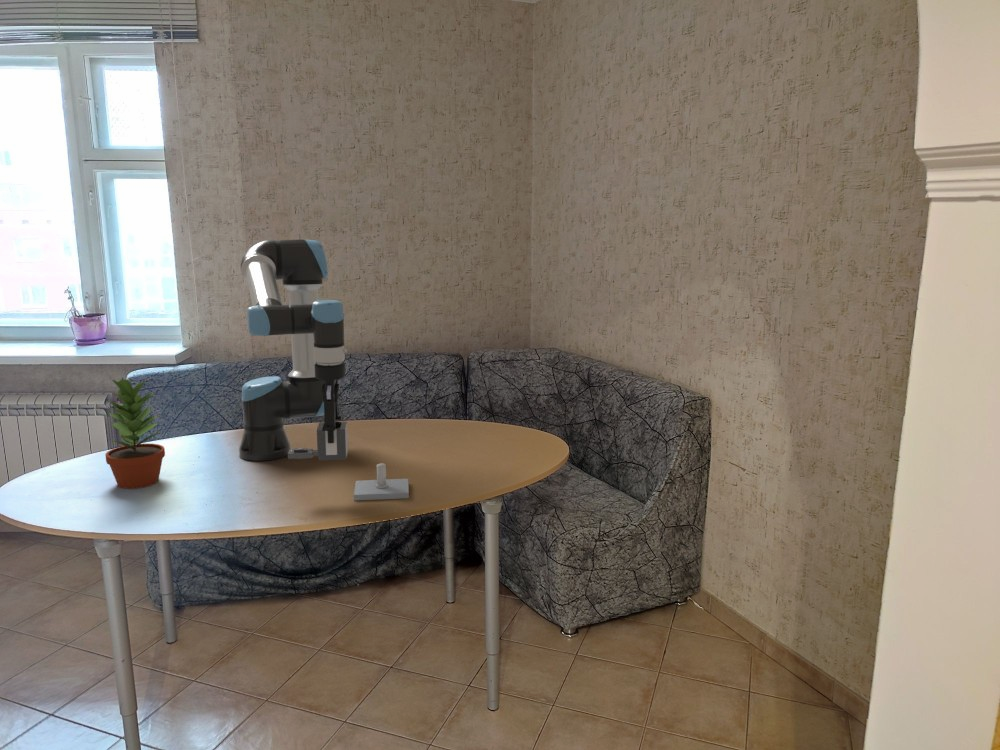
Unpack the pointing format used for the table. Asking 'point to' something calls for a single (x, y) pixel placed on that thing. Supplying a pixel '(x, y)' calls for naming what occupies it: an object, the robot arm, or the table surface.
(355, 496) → the keeper
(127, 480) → the potted plant
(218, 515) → the table surface
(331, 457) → the grey square socket
